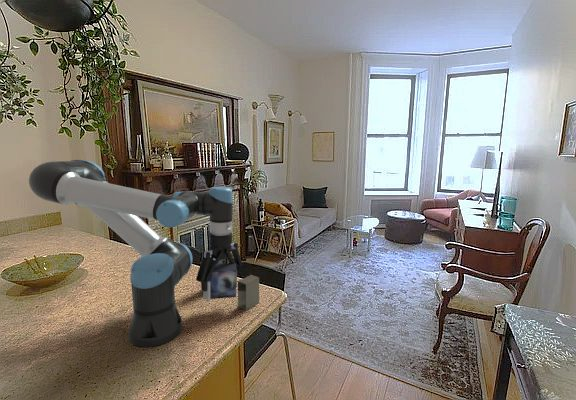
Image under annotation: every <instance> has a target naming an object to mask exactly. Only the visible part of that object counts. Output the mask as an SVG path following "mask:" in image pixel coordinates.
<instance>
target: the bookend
mask: <svg viewBox="0 0 576 400" xmlns="http://www.w3.org/2000/svg"><path fill="white" fill-rule="evenodd" d="M259 303H260V277H258V276H256V275H253V274H250V275H248V276H246V277H244V278H241V279H240V280H237V308H239V309H241V310H244V311H245V312H246V311H249V310H250V309H251V308H252V307H255V306H256V305H258V304H259Z"/></svg>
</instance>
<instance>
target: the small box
mask: <svg viewBox="0 0 576 400" xmlns="http://www.w3.org/2000/svg"><path fill="white" fill-rule="evenodd" d="M205 278H206V277H205ZM236 278H237V279H238V277H237V268H236V264H235V263H229V262H227V263H226V262H224V263H223V262H222V263H220V264H216V266H215V268H214V270H213V272H212V274H211V276H210V278H209V281H210V300H216V299H228V298H236V297H237V287H236Z"/></svg>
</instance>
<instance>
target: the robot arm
mask: <svg viewBox="0 0 576 400" xmlns="http://www.w3.org/2000/svg"><path fill="white" fill-rule="evenodd" d="M105 176H106V175H105V172H104V170H103V168H101V167H100V166H99V165H98V164H96V163H95V162H93V161H89V160H84V159H74V160H73V159H72V160H64V161H48V162H47V161H46V162H44V163H41V164H39V165H37V166H36V167H34V169H32V171H31V172H30V174H29V178H28V184H29V188H30V190H31V191H32V192H33V194H35V196H37V197H38V198H41V200H44V201H48V202H52V203H57V204H61V205H65V206H66V205H71V204H75V205H77V206H78V207H79V208H81V207H84V208H88V209H89V210H90V211H91V212H92V213H93V214H94V215H95V216H96V217H98V218H99V220H101V221H102V222H103V223H104V224H105V225H106V226H108V227H109V228H110V229H111V230H112V231H113V232H114V233H116V235H118V237H120V238H121V239H122V240H123V241H125V242H126V243H127V244H128V245H129V246H130V247H131V248H132V249H133V250H134V251H135V252H137V253H138V254H139V255H140V256H141V257H139V258H137V259H136V260H135V262H133V263H132V265H131V268H130V276H129V279H130V285H131V295H132V296H131V297H132V306H133V307H132V308H133V314H132V318H131V321H130V325H129V327H128V339H129V342H130V343H131V344H132V345H134V346H136V347H141V348H150V347H152V348H153V347H156V346H161V345H164V344H165V343H168V342H170V341H172V340H174V339H175V338H176V337H177V336H178V335H179V334H180V333H181V332H182V329H183V321H182V317H181V314H180V312H179V310H178V308H177V305H176V298H175V297H176V295H175V292H176V291H175V289H176V288H175V287H176V286H177V285H178V284H179V282H180V281H181V280H182V279H183V278H184V277H185V276H186V275H187V274H188V272H189V271H190V269H191V267H192V264H193V254H192V252H191V250H190V248H189V247H188V246H187V245H185V244H184V243H180V242H174V241H173V240H172V239H171V238H170V237H169V236H163V237H162V236H161V235H159V233H157V232H156V231H155V230H154V229H153V227H151V226H150V225H148V224H147V223H146V222H145V221H144V220H143V219H142V218H145V219H150V220H155V221H158V222H159V223H160V224H161V225H162V226H164V227H166V228H175V227H177V226H181V225H182V224H184V223H185V222H186V221H187V220H188V219H190V218H192V217H193V216H209V233H210V234H209V244H210V249H209V250H207V251H206V250H203V251H202V256H201V258H202V259H201V264H200V263H199V264H200V265H199V268H198V272H197V275H196V279H195V280H196V281H197V282H199V283H200V284H201V283H202V291H201V292H202V294H203V295H202V296H203V297H202V298H203V299H205V300H206V301H211V299H210V281H209V278H210V276H211V274H212V272H213V270H214V268H215V266H216V264H217V263H218V262H219V261H220V260H223V259H224V260H225V259H226V261H227V263H235V264H236V268H237V278H236V288H238V276H239V271H240V270H241V267H242V266H243V262H242V258H241V255H240V252H239V249H238V246H239V245H238V244H239V243H238V242H237V243H236V242H234V241H233V233H232V232H233V213H234V210H233V209H234V207H233V206H234V199H233V196H234V195H233V190H232V188H231V187H228V186H212V187H210V188H209V192H196V191H187V190H184V191H176V192H174V193H173V194H172V196H168V195H164V194H162V193H161V194H160V193H155V192H152V191H146V190H143V189H138V188H133V187H127V186H123V185H119V184H113V183H109V182H108V181H107V179H106V177H105ZM213 258H214V259H216V260H213ZM205 277H206V278H205Z"/></svg>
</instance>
